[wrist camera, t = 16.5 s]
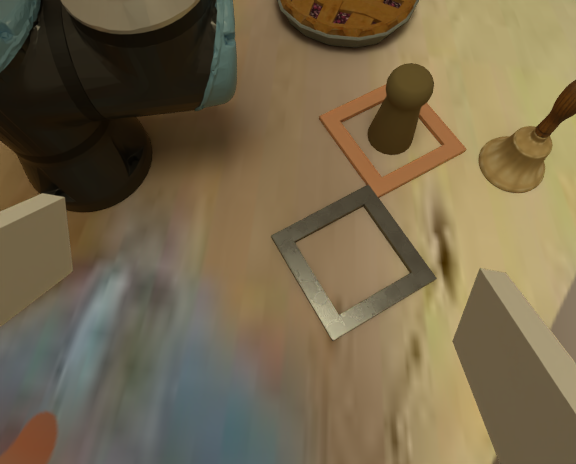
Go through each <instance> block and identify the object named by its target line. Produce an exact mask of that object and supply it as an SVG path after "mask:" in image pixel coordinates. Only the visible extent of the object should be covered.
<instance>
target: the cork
mask: <svg viewBox="0 0 576 464" xmlns="http://www.w3.org/2000/svg"><path fill="white" fill-rule="evenodd" d="M433 87H434V81H433V78H432V75H431V74H430V72H429V71H428V70H427V69H426V68H424V67H423V66H420V65H418V64H412V63H411V64H404V65H401V66H399V67H398V68H396V69H395V70H393V72H392V73H391V74H390V76H389V78H388V80H387V84H386V95H387V96H386V98H385V99H384V101H383V103H382V105H381V107H380V109H379V110H378V112H377V114H376V116H375V118H374V120H373V121H372V123H371V125H370V127H369V129H368V140H369V142H370V143H371V145H372V146H373V147H374V148H375V149H376V150H377V151H379V152H381V153H384V154H389V155H395V154H400V153H402V152H404V151H406V150H407V149H408V148H409V147H410V145H411V143H412V140H413V136H414V133H415V129H416V125H417V121H418V117H419V114H420V110H421V107H422V106H423V105H424V104H426V103H427V102H428V100H429V99H430V97H431V95H432V93H433Z"/></svg>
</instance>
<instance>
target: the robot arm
mask: <svg viewBox="0 0 576 464" xmlns="http://www.w3.org/2000/svg"><path fill="white" fill-rule="evenodd" d="M234 38H235V20H234V8H233V0H0V141H2V142H3V143H4V144H5V145H7V146H8V147H9V148H10V149H11V150H13V151H14V152H15V153H16V154H17V156H18V158H19V160H20V162H21V164H22V166H23V169H24V171H25V173H26V175H27V177H28V179H29V181H30V183H31V184H32V185H33V187H34V188H35V189H36V190H37V191H38V192H39V193H40V195H37V196H35V197H33V198H30V199H28V200H26V201H23V202H21V203H19V204H16V205H14V206H12V207H9V208H7V209H5V210H3V211H0V327H1V326H2V325H4V324H5V323H6V322H7V321H9V320H10V319H11V318H13V317H14V316H15V315H17V314H18V313H19V312H20V311H22V310H23V309H24V308H26V307H27V306H28V305H30V304H31V303H32V302H34V301H35V300H36V299H37V298H39V297H40V296H41V295H43V294H44V293H45V292H47V291H48V290H49V289H50V288H52V287H53V286H54V285H56V284H57V283H58V282H60V281H61V280H62V279H63V278H65V277H66V276H67V275H69V274H70V273H71V272H73V267H72V258H71V249H70V240H69V231H68V222H67V213H66V210H70V211H76V212H90V211H97V210H101V209H105V208H107V207H110V206H112V205H115V204H117V203H119V202H120V201H122V200H124V199H125V198H126V197H128V196H129V195H130V194H131V193H133V192H134V191H135V190H136V189H137V188H138V186H139V185H140V184H141V183H142V181H143V180H144V178H145V176H146V175H147V173H148V170H149V168H150V164H151V160H152V147H151V142H150V139H149V137H148V135H147V133H146V131H145V130H144V128H143V126H142V124H141V123H140V121H139V120H138V119H137V118H136V117H139V116H148V115H157V114H166V113H175V112H184V111H193V110H195V111H199V110H201V109H203V108H205V107H210V106H216V105H221V104H224V103H227V102H228V101H229V100H230V99H231V98H232V97H233V95H234V93H235V90H236V83H237V54H236V42H235V39H234ZM453 344H454V346H455V349H456V351H457V354H458V357H459V359H460V362H461V364H462V367H463V370H464V372H465V375H466V377H467V380H468V382H469V385H470V388H471V390H472V393H473V395H474V398H475V401H476V403H477V406H478V408H479V411H480V413H481V416H482V419H483V421H484V424H485V426H486V429H487V431H488V434H489V437H490V439H491V442H492V444H493V447H494V450H495V452H496V455H497V457H498V460H499V462H500V464H576V363H575V362H574V361H573V359H572V358H571V357H570V355H569V354H568V353H567V351H566V350H565V349H564V347H563V346H562V345H561V344H560V342H559V341H558V340H557V338H556V337H555V336H554V334H553V333H552V332H551V331H550V329H549V328H548V327H547V325H546V324H545V323H544V321H543V320H542V319H541V317H540V316H539V315H538V314H537V312H536V311H535V310H534V308H533V307H532V306H531V304H530V303H529V302H528V301H527V299H526V298H525V297H524V295H523V294H522V293H521V291H520V290H519V289H518V288H517V286H516V285H515V284H514V282H513V281H512V280H511V278H510V277H509V276H508V275H507V273H505V272H499V271H493V270H488V269H482V268H480V269H479V272H478V274H477V277H476V280H475V282H474V285H473V288H472V290H471V293H470V296H469V299H468V301H467V304H466V307H465V309H464V312H463V315H462V317H461V320H460V323H459V325H458V328H457V331H456V333H455V336H454V339H453Z"/></svg>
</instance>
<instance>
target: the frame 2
mask: <svg viewBox="0 0 576 464" xmlns="http://www.w3.org/2000/svg"><path fill="white" fill-rule="evenodd" d="M363 206H364V208H365V209H366V210H367V212H368V213H369V215H370V216H371V218H372V219H373V220H374V222H375V223H376V225H377V226H378V228H379V229H380V230H381V232H382V233H383V235H384V236H385V238H386V239H387V240H388V242H389V243H390V245H391V246H392V248H393V249H394V250H395V252H396V253H397V255H398V256H399V258H400V259H401V260H402V262H403V263H404V265H405V266H406V268H407V269H408V270H409V272H410V274H408V275H407V276H405V277H403V278H401V279H400V280H398V281H396V282H395V283H393V284H391V285H389V286H388V287H386V288H384V289H383V290H381V291H379V292H378V293H376V294H374V295H372V296H371V297H369V298H367V299H366V300H364V301H362V302H361V303H359V304H357V305H355V306H354V307H352V308H350V309H349V310H347V311H345V312H343V313H342V314H340V315H338V313H337V311H336V310H335V308H334V306H333V305H332V303H331V302H330V300H329V298H328V297H327V295H326V293H325V292H324V290H323V288H322V287H321V285H320V283H319V282H318V280H317V279H316V277H315V275H314V274H313V272H312V270H311V269H310V267H309V265H308V264H307V262H306V260H305V259H304V257H303V256H302V254H301V252H300V251H299V249H298V247H297V246H296V244H295V242H297V241H299V240H301V239H303V238H305V237H307V236H308V235H310V234H312V233H314V232H316V231H318V230H320V229H322V228H323V227H325V226H327V225H329V224H331V223H333V222H335V221H336V220H338V219H340V218H342V217H344V216H346V215H348V214H349V213H351V212H353V211H355V210H357V209H359V208H361V207H363ZM271 238H272V239H273V241H274V243H275V244H276V246H277V248H278V249H279V251H280V253H281V255H282V256H283V258H284V260H285V261H286V263H287V265H288V266H289V268H290V270H291V271H292V273H293V275H294V277H295V278H296V280H297V282H298V283H299V285H300V287H301V288H302V290H303V292H304V294H305V295H306V297H307V299H308V300H309V302H310V304H311V305H312V307H313V309H314V311H315V312H316V314H317V316H318V317H319V319H320V321H321V322H322V324H323V326H324V328H325V329H326V331H327V333H328V334H329V336H330V338H331V339H332V341H334V340H335V339H337V338H339V337H340V336H342V335H344V334H345V333H347V332H349V331H350V330H352V329H354V328H355V327H357V326H359V325H360V324H362V323H364V322H365V321H367V320H369V319H370V318H372V317H374V316H375V315H377V314H379V313H380V312H382V311H384V310H385V309H387V308H389V307H390V306H392V305H394V304H395V303H397V302H399V301H400V300H402V299H404V298H405V297H407V296H409V295H410V294H412V293H414V292H415V291H417V290H419V289H420V288H422V287H424V286H425V285H427V284H429V283H430V282H432V281H434V280H435V279H437V278H436V277H435V275H434V274H433V273H432V271H431V270H430V268H429V267H428V266H427V264H426V263H425V262H424V260H423V259H422V257H421V256H420V255H419V253H418V252H417V251H416V249H415V248H414V246H413V245H412V244H411V242H410V241H409V239H408V238H407V237H406V235H405V234H404V233H403V231H402V230H401V228H400V227H399V226H398V224H397V223H396V221H395V220H394V219H393V217H392V216H391V215H390V213H389V212H388V210H387V209H386V208H385V206H384V205H383V203H382V202H381V201H380V199H379V198H378V197H377V195H376V194H375V192H374V191H373V190H372V188H371V187H370V185H369V184H368V185H367V186H365V187H363V188H361V189H359V190H357V191H355V192H353V193H351V194H349V195H348V196H346V197H344V198H342V199H340V200H338V201H336V202H334V203H332V204H330V205H329V206H327V207H325V208H323V209H321V210H319V211H317V212H315V213H313V214H311V215H310V216H308V217H306V218H304V219H302V220H300V221H298V222H296V223H294V224H292V225H291V226H289V227H287V228H285V229H283V230H281V231H279V232H277V233H275V234H273V235H272V236H271Z"/></svg>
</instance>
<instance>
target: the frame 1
mask: <svg viewBox="0 0 576 464" xmlns="http://www.w3.org/2000/svg"><path fill="white" fill-rule="evenodd" d="M386 96H387V95H386V85H384V86H382V87H380V88H377V89H375V90H373V91H371V92H369V93H367V94H365V95H363V96H361V97H359V98H356V99H354V100H352V101H350V102H348V103H346V104H344V105H342V106H340V107H338V108H335V109H333V110H331V111H329V112H327V113H325V114H323V115H321V116H319V120H320V121H321V122H322V124H323V125H324V126H325V128H326V129H327V131H328V132H329V133H330V135H331V136H332V138H333V139H334V140H335V142H336V143H337V145H338V146H339V147H340V149H341V150H342V151H343V153H344V154H345V156H346V157H347V158H348V160H349V161H350V163H351V164H352V165H353V167H354V168H355V170H356V171H357V172H358V174H359V175H360V176H361V178H362V179H363V181H364V182H365V183H366V185H368V184H369V185H370V187H371V188H372V190H373V191H374V192H375V194H376V195H377V197H378V198H379V197H381V196H383V195H385V194H387V193H389V192H391V191H392V190H394V189H396V188H398V187H400V186H402V185H404V184H405V183H407V182H409V181H411V180H413V179H415V178H417V177H418V176H420V175H422V174H424V173H426V172H428V171H430V170H432V169H433V168H435V167H437V166H439V165H441V164H443V163H445V162H446V161H448V160H450V159H452V158H454V157H456V156H458V155H460V154H461V153H463V152H465V151H466V148H465V147H464V146H463V144H462V143H461V142H460V141H459V140H458V139H457V137H456V136H455V135H454V134H453V133H452V132H451V130H450V129H449V128H448V127H447V126H446V125H445V123H444V122H443V121H442V120H441V119H440V118H439V116H438V115H437V114H436V113H435V112H434V111H433V109H432V108H431V107H430V106H429V105H428V104H427V103H426V104H424V105H423V106H422V107H421V110H420V114H419V118H420V120H421V121H422V122H423V123H424V124H425V126H426V127H427V128H428V129H429V130H430V132H431V133H432V134H433V135H434V136H435V138H436V139H437V140H438V141H439V142H440V144H441V145H442V146H441V147H439V148H437V149H435V150H433V151H431V152H429V153H427V154H426V155H424V156H422V157H420V158H418V159H416V160H414V161H412V162H410V163H408V164H407V165H405V166H403V167H401V168H399V169H397V170H395V171H393V172H391V173H389V174H388V175H386V176H384V177H381V176H380V174H379V173H378V172H377V170H376V169H375V168H374V166H373V165H372V164H371V162H370V161H369V159H368V158H367V157H366V155H365V154H364V153H363V151H362V150H361V149H360V147H359V146H358V145H357V143H356V142H355V141H354V139H353V138H352V137H351V135H350V134H349V133H348V131H347V130H346V128H345V127H344V126H343V124H342V123H341V122H343V121H345V120H347V119H349V118H352V117H354V116H356V115H358V114H360V113H362V112H364V111H366V110H368V109H370V108H372V107H374V106H376V105H378V104H380V103H382V102H383V101H384V99H385V98H386Z"/></svg>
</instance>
